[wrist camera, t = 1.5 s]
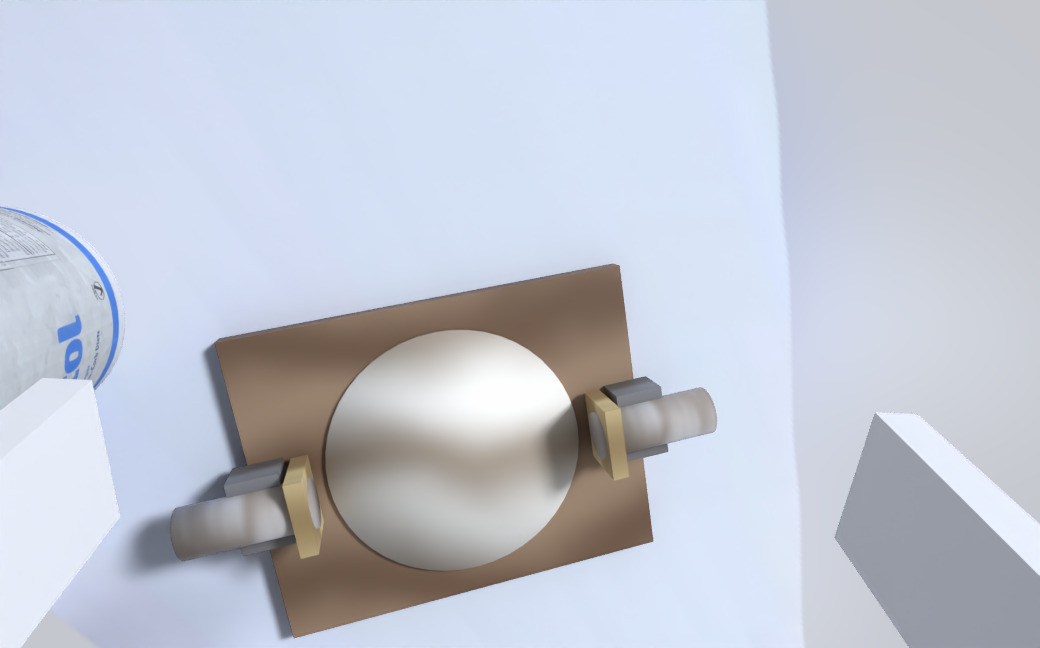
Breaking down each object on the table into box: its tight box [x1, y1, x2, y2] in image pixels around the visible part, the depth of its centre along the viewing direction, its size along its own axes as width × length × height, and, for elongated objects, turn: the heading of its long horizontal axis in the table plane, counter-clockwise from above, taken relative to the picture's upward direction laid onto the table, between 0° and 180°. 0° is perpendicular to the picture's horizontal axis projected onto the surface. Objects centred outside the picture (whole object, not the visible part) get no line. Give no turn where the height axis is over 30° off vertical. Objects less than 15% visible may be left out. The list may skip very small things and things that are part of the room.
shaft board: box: [170, 264, 717, 638], centre depth 33 cm, size 16×26×5 cm, turn 99°
